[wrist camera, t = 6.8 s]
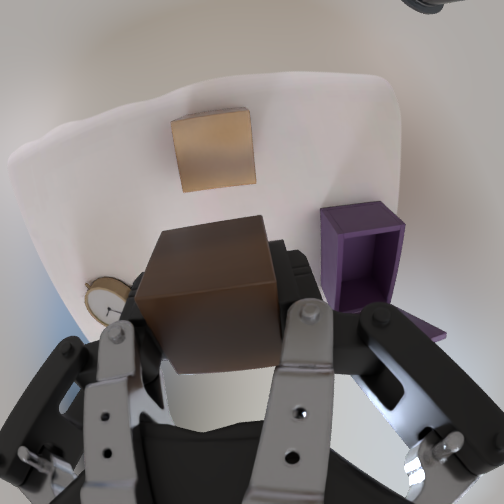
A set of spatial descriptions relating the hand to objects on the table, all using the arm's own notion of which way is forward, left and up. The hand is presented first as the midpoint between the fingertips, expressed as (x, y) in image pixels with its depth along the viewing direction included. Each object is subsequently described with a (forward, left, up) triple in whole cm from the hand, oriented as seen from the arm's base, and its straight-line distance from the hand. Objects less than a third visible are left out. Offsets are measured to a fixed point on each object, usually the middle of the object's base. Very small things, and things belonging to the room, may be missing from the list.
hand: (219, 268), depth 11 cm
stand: (+1, -2, -29) cm, 29 cm away
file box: (-6, +26, -29) cm, 39 cm away
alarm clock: (+35, +9, -29) cm, 46 cm away
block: (0, 0, 0) cm, 0 cm away
